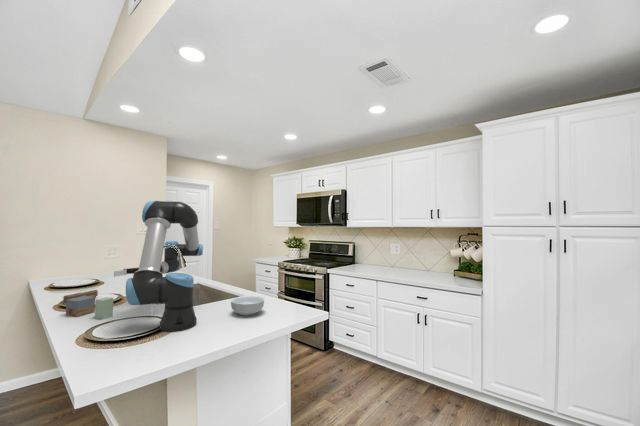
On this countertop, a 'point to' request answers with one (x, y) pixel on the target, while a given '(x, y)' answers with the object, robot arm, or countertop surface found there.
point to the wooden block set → (89, 293)
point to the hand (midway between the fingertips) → (124, 274)
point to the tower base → (80, 311)
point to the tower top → (80, 302)
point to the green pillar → (103, 308)
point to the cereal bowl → (247, 305)
